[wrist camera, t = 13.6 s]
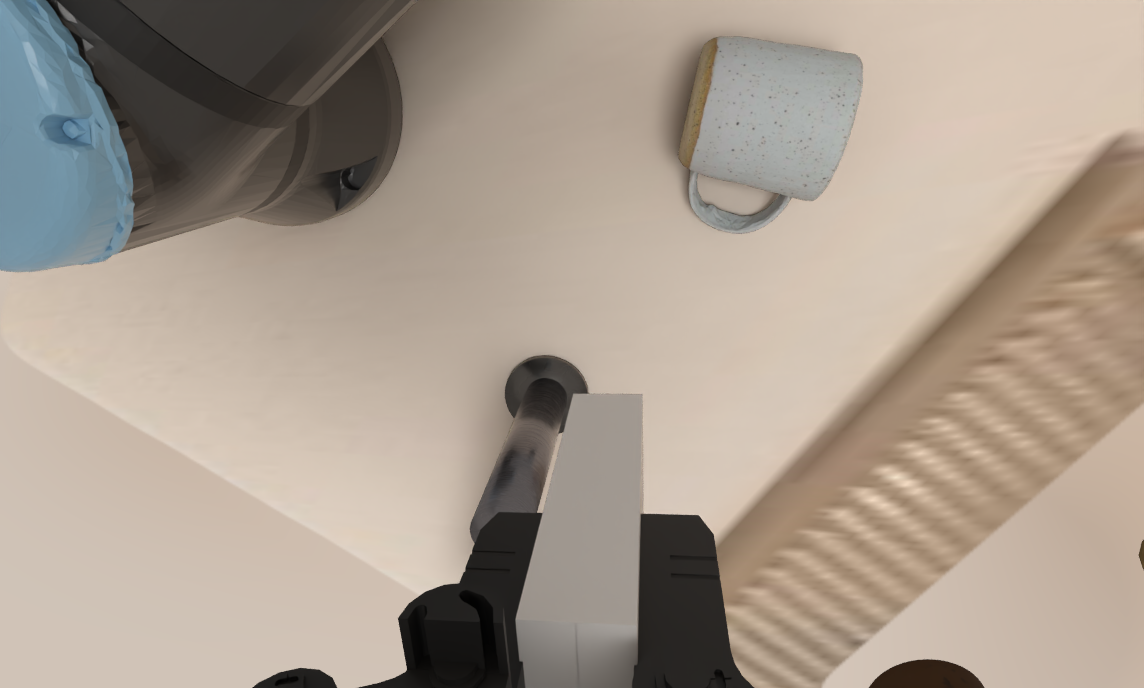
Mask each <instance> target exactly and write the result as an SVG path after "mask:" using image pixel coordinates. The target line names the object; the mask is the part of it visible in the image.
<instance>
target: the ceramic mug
mask: <svg viewBox="0 0 1144 688" xmlns="http://www.w3.org/2000/svg"><path fill="white" fill-rule="evenodd" d="M862 73H863V65H862V62H861V59H860V58H859V57H858V56H857V55H855V54H851V53H844V52H837V51H829V50H823V49H818V48H812V47H805V46H799V45H791V44H783V43H776V42H770V41H764V40H759V39H753V38H746V37H716V38H713V39H711V40H710V41H708V42H707V43H706V44H705V45H704V46H703V48H702V51H701V55H700V59H699V64H698V68H697V72H696V76H695V80H694V85H693V89H692V93H691V97H690V102H689V106H688V111H687V115H686V120H685V124H684V129H683V133H682V138H681V142H680V147H679V152H678V156H679V160H680V161H681V163H682V164H683V166H685V167H687V168H688V169H690V170H691V172H690V179H689V199H690V204H691V207H692V209H693V210H694V212H695V213H696V215H697V216H698V217H699V218H700V219H701V220H702V221H703V222H704V223H706V224H707V225H709V226H711V227H713V228H715V229H717V230H721V231H724V232H729V233H736V234H742V233H749V232H753V231H756V230H758V229H760V228H762V227H764V226H766V225H767V224H769V223H770V222H772V221H773V220H774V219H775V218H776V217H777V216H778V215H779V214H780V213H781V212H782V211H783V210H784V208H785V207H786V206H787V204H788V203H789V201H790V200H791V198H792V197H793V198H796V199H800V200H805V201H814V200H815V199H817V198H818V197H819V196H820V195H821V194H822V193H823V191H824V190H825V189H826V187H827V186H828V184H829V182H830V181H831V179H832V176H833V174H834V172H835V171H836V169H837V167H838V165H839V162H840V160H841V158H842V156H843V153H844V150H845V147H846V145H847V142H848V139H849V136H850V133H851V129H852V127H853V123H854V119H855V115H856V112H857V108H858V105H859V100H860V96H861V92H862V84H863V75H862ZM698 173H699V174H702V175H705V176H708V177H712V178H716V179H720V180H725V181H730V182H736V183H740V184H744V185H748V186H751V187H755V188H758V189H762V190H766V191H770V192H774V193H778V194H780V195H779V196H778V197H777V199H776V200H775V201H774V202H773V203H772V204H771V205H770V206H769V207H768V208H766V209H765V210H763V211H761V212H760V213H757V214H755V215H751V216H739V215H735V214H732V213H729V212H725V211H722V210H720V209H717V208H716V207H715V206H714V205H706V204H705V203H704V202H703V201H702V200H701V197H700V195H699V193H698V191H697V181H696V180H697V175H698Z"/></svg>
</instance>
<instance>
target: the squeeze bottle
mask: <svg viewBox="0 0 1144 688" xmlns="http://www.w3.org/2000/svg"><path fill="white" fill-rule="evenodd" d="M1139 558H1140V561H1141V564H1142V567H1143V569H1144V540H1143V541H1142V544H1141V548H1140V552H1139Z"/></svg>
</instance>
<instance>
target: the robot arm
mask: <svg viewBox="0 0 1144 688" xmlns="http://www.w3.org/2000/svg"><path fill="white" fill-rule="evenodd" d="M416 1H417V0H0V270H1V271H9V272H33V271H41V270H47V269H52V268H58V267H64V266H71V265H83V264H92V263H97V262H102V261H105V260H107V259H108V258H109V257H111V256H112V255H114V254H117V253H120V252H123V251H126V250H129V249H133V248H136V247H139V246H143V245H146V244H149V243H152V242H156V241H159V240H162V239H166V238H169V237H172V236H175V235H179V234H182V233H185V232H188V231H192V230H195V229H198V228H202V227H205V226H208V225H211V224H215V223H218V222H221V221H225V220H228V219H231V218H234V217H241V218H246V219H250V220H254V221H258V222H263V223H267V224H272V225H281V226H300V225H309V224H314V223H318V222H322V221H325V220H328V219H330V218H333V217H336V216H338V215H341V214H343V213H346V212H348V211H350V210H351V209H353V208H355V207H356V206H358V205H359V204H361V203H362V202H363V201H365V200H366V199H367V198H368V197H369V196H370V195H371V194H372V193H373V192H374V191H375V190H376V189H377V188H378V186H379V185H380V184H381V183H382V181H383V180H384V178H385V176H386V175H387V173H388V171H389V169H390V167H391V165H392V163H393V161H394V158H395V155H396V152H397V149H398V145H399V140H400V135H401V126H402V103H401V94H400V88H399V83H398V79H397V75H396V72H395V68H394V66H393V63H392V60H391V58H390V55H389V53H388V51H387V49H386V47H385V45H384V43H383V41H382V39H381V36H382V35H383V34H384V33H385V32H386V31H387V30H388V29H389V28H390V27H391V26H392V25H393V24H394V23H395V22H396V21H397V20H398V19H399V18H400V17H401V16H402V15H403V14H404V13H405V12H406V11H407V10H408V9H409V8H410V7H411V6H412V5H413V4H414V3H415V2H416ZM398 620H399V627H400V632H401V638H402V643H403V649H404V654H405V660H406V666H407V671H406V672H405V673H403V674H401V675H399V676H397V677H395V678H393V679H390V680H386V681H384V682H381V683H377V684H372V685H368V686H363V687H359V688H754V687H753V686H752V685H751V684H750V683H749V682H748V681H747V680H746V679H745V678H744V677H743V676H742V675H741V673H740V671H739V670H738V668H737V667H736V665H735V663H734V660H733V657H732V654H731V650H730V643H729V636H728V629H727V622H726V616H725V609H724V602H723V595H722V588H721V581H720V575H719V568H718V561H717V554H716V547H715V540H714V534H713V533H712V532H711V531H710V529H709V528H708V527H707V525H706V524H705V523H704V522H703V520H702V519H701V518H700V516H699V515H668V514H643V400H642V394H573V397H572V401H571V405H570V408H569V412H568V416H567V420H566V424H565V428H564V432H563V436H562V440H561V444H560V447H559V451H558V455H557V459H556V463H555V467H554V471H553V475H552V479H551V483H550V486H549V490H548V494H547V498H546V502H545V506H544V510H543V513H521V512H498V513H497V514H496V515H495V516H494V517H493V518H492V519H491V520H490V521H489V522H488V523H487V524H486V525H485V526H484V527H483V528H481V529H480V532H479V534H478V537H477V540H476V542H475V545H474V547H473V550H472V555H470V557H469V560H468V563H467V565H466V570H465V572H464V573H463V575H462V578H461V581H460V583H458V584H448V585H443V586H440V587H437V588H435V589H432V590H429V591H426V592H424V593H423V594H422V595H420V596H419V597H417V598H416V599H415V600H413V601H412V602H411V603H409V604H408V606H407V607H406V608H405V610H404V611H403V612H402V614H401V615H400V616H399V618H398ZM253 688H337V687H336V684H335V682H334V680H333V678H332V677H330V676H328V675H327V674H325V673H324V672H322V671H320V670H316V669H306V668H298V669H294V670H289V671H284V672H280V673H278V674H276V675H273V676H271V677H270V678H267V679H266V680H263V681H261V682H259V683H258V684H256V685H255V686H254V687H253Z"/></svg>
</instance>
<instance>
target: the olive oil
mask: <svg viewBox="0 0 1144 688" xmlns="http://www.w3.org/2000/svg"><path fill="white" fill-rule="evenodd" d="M869 688H984V686H983V685H982V683H981V682H980V681H979V680H978V678H977V677H976V676H975V675H974V674H972V673H971V672H970V671H968V670H966V669H965V668H963V667H961V666H958V665H956V664H953V663H950V662H946V661H941V660H928V659H927V660H915V661H909V662H906V663H902V664H899V665H896V666H894V667H892V668H890V669H889V670H887V671H885V672H884V673H882V674H881V675H880V676H879V677H877V678H876V679H875V680H874V682H873V683H872V684H871V685H870V687H869Z"/></svg>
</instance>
